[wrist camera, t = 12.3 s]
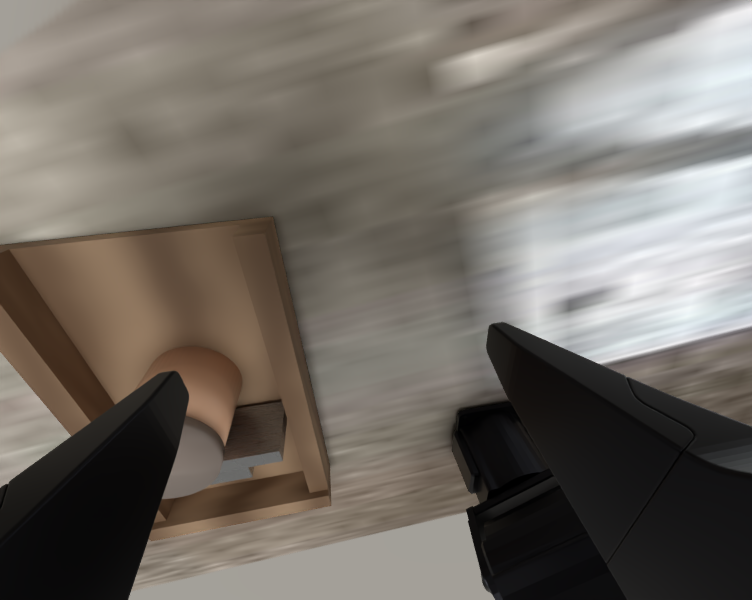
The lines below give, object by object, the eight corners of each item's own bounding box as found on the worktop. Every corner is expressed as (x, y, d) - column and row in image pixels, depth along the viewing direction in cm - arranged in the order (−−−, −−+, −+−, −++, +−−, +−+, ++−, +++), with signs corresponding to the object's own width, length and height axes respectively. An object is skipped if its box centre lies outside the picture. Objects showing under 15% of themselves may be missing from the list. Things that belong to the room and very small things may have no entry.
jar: (229, 338, 20) (198, 415, 15) (253, 403, 23) (235, 486, 18) (130, 353, 19) (62, 439, 14) (168, 417, 22) (124, 508, 17)
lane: (272, 216, 18) (263, 236, 15) (329, 465, 29) (331, 505, 26) (-7, 245, 16) (-82, 274, 13) (169, 495, 28) (151, 541, 25)
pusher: (285, 400, 23) (279, 451, 19) (298, 445, 25) (295, 496, 22) (130, 426, 22) (94, 484, 18) (159, 469, 24) (133, 527, 21)
